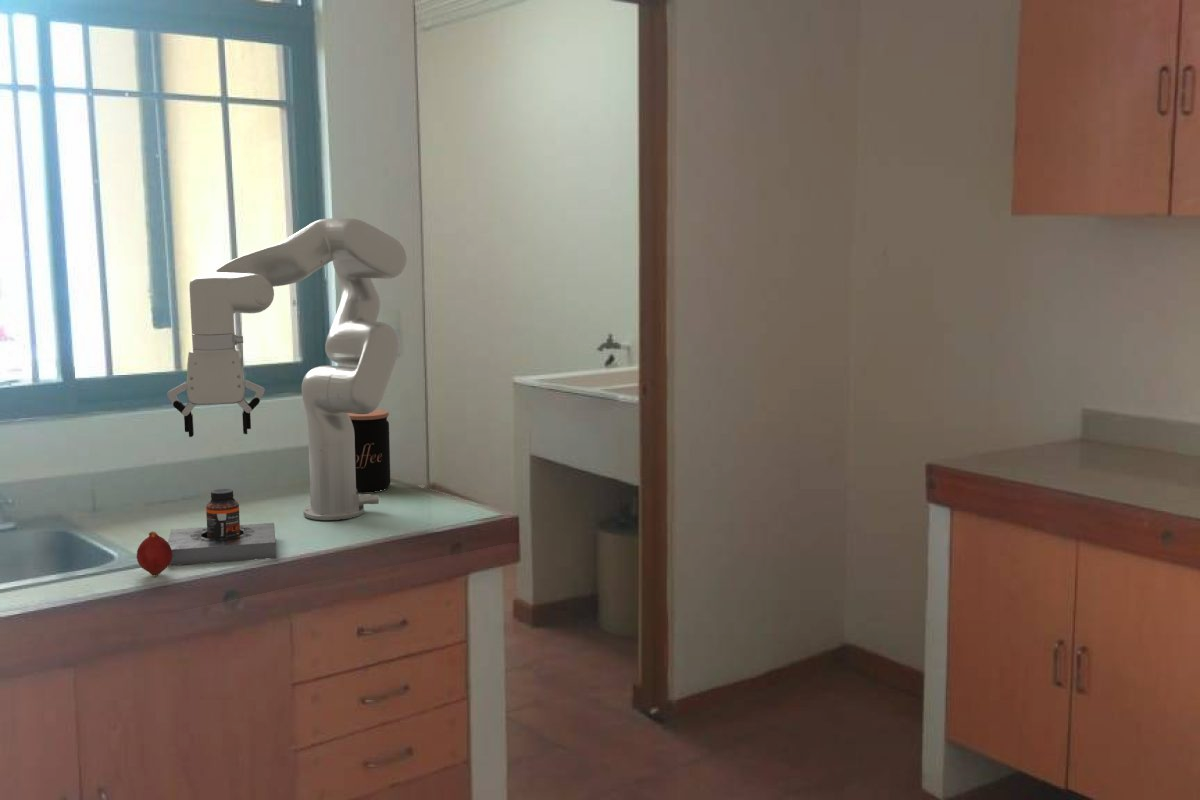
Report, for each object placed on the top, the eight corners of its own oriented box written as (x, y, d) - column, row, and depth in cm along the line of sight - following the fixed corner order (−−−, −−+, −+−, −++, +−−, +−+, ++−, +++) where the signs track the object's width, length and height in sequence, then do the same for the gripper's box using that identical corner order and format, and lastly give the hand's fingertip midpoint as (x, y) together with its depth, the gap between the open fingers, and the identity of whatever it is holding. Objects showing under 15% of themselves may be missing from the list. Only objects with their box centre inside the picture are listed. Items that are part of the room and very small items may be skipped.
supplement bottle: (231, 554, 220) (228, 494, 218) (201, 552, 221) (198, 493, 220) (246, 545, 226) (244, 487, 224) (218, 544, 227) (215, 486, 225)
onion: (143, 571, 209) (141, 527, 208) (177, 570, 210) (174, 526, 209) (133, 580, 204) (131, 535, 202) (167, 579, 204) (165, 534, 203)
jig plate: (274, 537, 232) (274, 522, 231) (276, 558, 218) (275, 542, 217) (172, 544, 227) (171, 529, 226) (166, 566, 212) (166, 549, 212)
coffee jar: (336, 492, 271) (334, 415, 269) (354, 483, 282) (351, 408, 279) (381, 494, 269) (379, 416, 267) (396, 484, 280) (395, 409, 277)
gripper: (262, 339, 224) (266, 428, 226) (165, 342, 219) (170, 433, 222) (262, 343, 217) (266, 435, 219) (162, 346, 212) (168, 440, 214)
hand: (218, 434), depth 220 cm, fingers open, 9 cm apart
